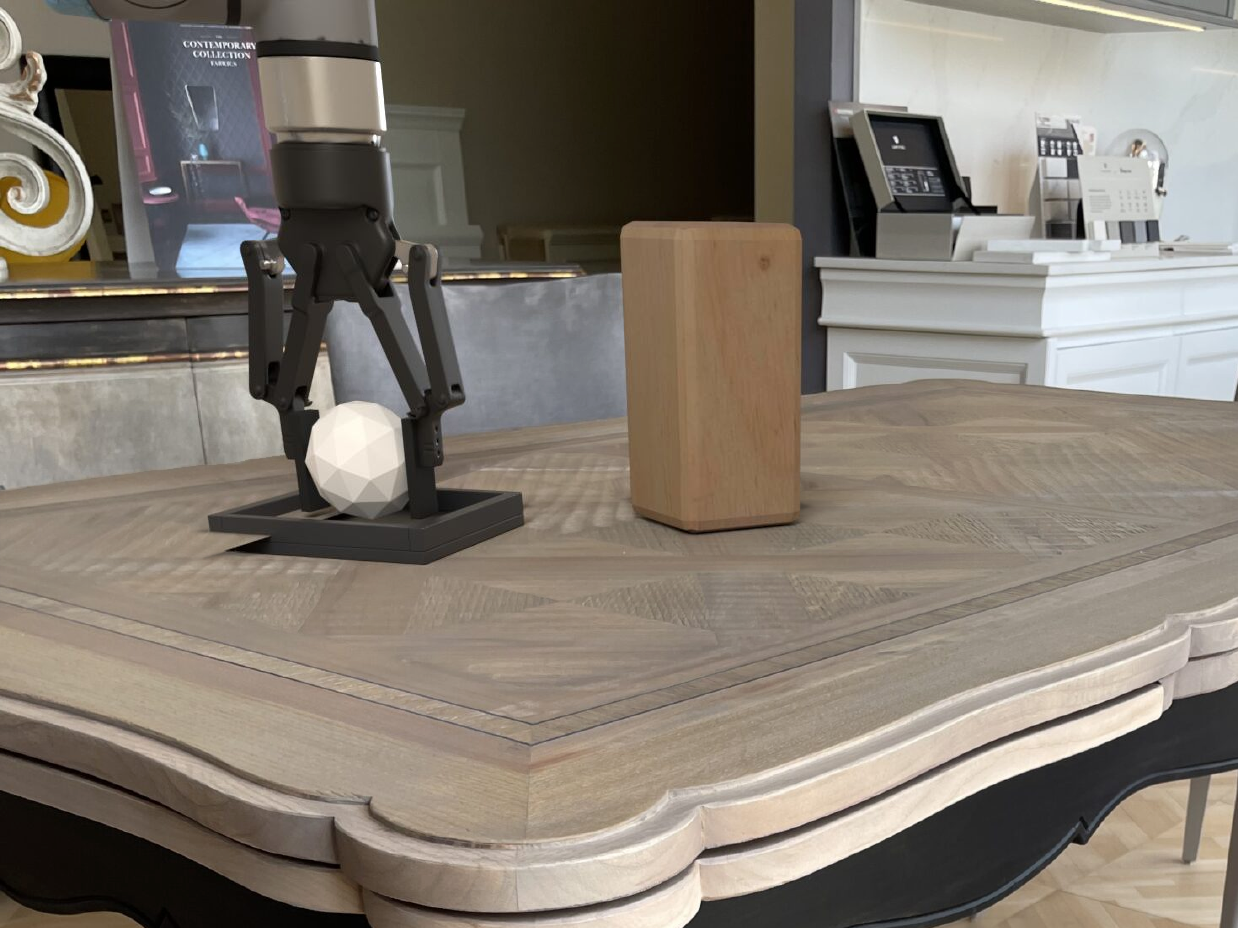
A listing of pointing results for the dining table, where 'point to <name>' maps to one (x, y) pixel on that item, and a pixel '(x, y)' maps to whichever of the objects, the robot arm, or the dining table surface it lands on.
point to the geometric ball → (359, 459)
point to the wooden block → (713, 372)
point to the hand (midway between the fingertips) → (370, 512)
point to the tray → (375, 528)
